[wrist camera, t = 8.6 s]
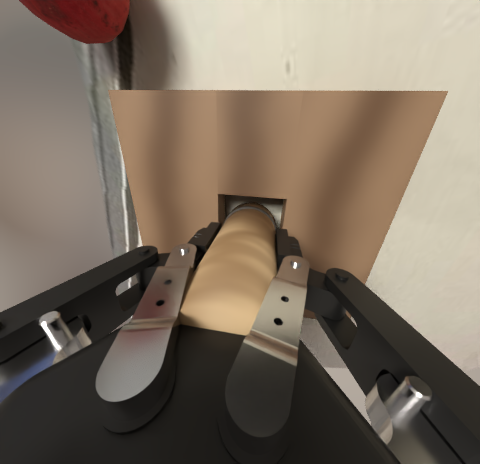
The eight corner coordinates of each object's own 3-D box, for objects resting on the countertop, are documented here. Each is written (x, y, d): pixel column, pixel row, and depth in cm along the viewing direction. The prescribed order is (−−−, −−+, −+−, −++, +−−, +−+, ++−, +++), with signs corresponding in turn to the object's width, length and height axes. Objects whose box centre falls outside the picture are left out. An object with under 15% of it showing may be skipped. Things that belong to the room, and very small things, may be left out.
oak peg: (278, 198, 15) (294, 319, 5) (273, 241, 17) (275, 400, 6) (230, 195, 16) (145, 295, 5) (229, 237, 18) (165, 376, 7)
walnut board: (414, 101, 12) (448, 91, 10) (339, 303, 20) (347, 323, 17) (133, 98, 14) (108, 89, 12) (165, 279, 22) (153, 294, 20)
